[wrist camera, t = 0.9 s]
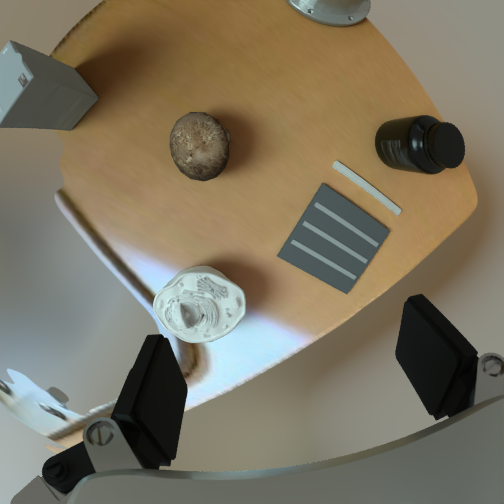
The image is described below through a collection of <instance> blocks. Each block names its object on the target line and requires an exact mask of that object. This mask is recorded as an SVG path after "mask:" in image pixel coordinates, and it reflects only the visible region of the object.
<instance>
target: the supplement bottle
mask: <svg viewBox="0 0 504 504" xmlns="http://www.w3.org/2000/svg"><path fill="white" fill-rule="evenodd" d="M375 147H376V151H377V154H378V156H379V157H380V159H381V160H382V162H383V163H384V164H386V165H387V166H388V167H390V168H393V169H398V170H404V171H411V172H417V173H423V174H437V173H440V172H441V171H443V170H444V169H445V168H455V167H458V165H460V164H461V162H462V160H463V159H464V155H465V145H464V140H463V137H462V134H461V133H460V131H459V130H458V128H457V127H455V125H453V124H451V123H448V122H440V121H439V120H437V119H436V118H434V117H432V116H428V115H421V116H414V117H407V118H401V119H396V120H391V121H387V122H385V123H384V124H382V125H381V126H380V127H379V129H378V131H377V133H376V137H375Z"/></svg>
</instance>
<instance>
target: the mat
mask: <svg viewBox="0 0 504 504" xmlns="http://www.w3.org/2000/svg"><path fill="white" fill-rule="evenodd" d="M389 232H390V231H389V230H388V229H387V228H385V227H384V226H383V225H381V224H380V223H379V222H377V221H376V220H375V219H373V218H372V217H371V216H369V215H368V214H366V213H365V212H364V211H362V210H361V209H359V208H358V207H357V206H355V205H354V204H352V203H351V202H350V201H348V200H347V199H345V198H344V197H342V196H341V195H339V194H338V193H336V192H335V191H333V190H332V189H330V188H329V187H327V186H326V185H324V184H323V183H322V184H321V186H320V188H319V189H318V191H317V192H316V194H315V196H314V197H313V199H312V201H311V202H310V204H309V205H308V207H307V209H306V210H305V212H304V214H303V215H302V217H301V218H300V220H299V222H298V223H297V225H296V226H295V228H294V230H293V231H292V233H291V234H290V236H289V238H288V239H287V241H286V242H285V244H284V245H283V247H282V249H281V250H280V252H279V253H278V255H277V256H278V257H279V258H281V259H283V260H285V261H287V262H288V263H290V264H292V265H294V266H296V267H298V268H300V269H301V270H303V271H305V272H307V273H309V274H311V275H312V276H314V277H316V278H318V279H320V280H322V281H323V282H325V283H327V284H329V285H331V286H333V287H334V288H336V289H338V290H340V291H342V292H344V293H345V294H348V292H349V291H350V290H351V288H352V287H353V285H354V284H355V283H356V281H357V280H358V278H359V277H360V275H361V274H362V273H363V271H364V270H365V268H366V267H367V265H368V264H369V262H370V261H371V259H372V258H373V256H374V255H375V253H376V252H377V250H378V249H379V247H380V246H381V244H382V243H383V241H384V240H385V238H386V236H387V235H388V233H389Z"/></svg>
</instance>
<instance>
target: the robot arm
mask: <svg viewBox="0 0 504 504" xmlns="http://www.w3.org/2000/svg"><path fill="white" fill-rule="evenodd" d="M287 2H288V3H289V4H290V5H291V6H292V7H293V8H294V9H295V10H296V11H298V12H299V13H300V14H302V15H303V16H305V17H307V18H309V19H311V20H313V21H316V22H318V23H322V24H325V25H330V26H351V25H354V24H357V23H358V22H360V21H362V20H363V19H364V18H365V17H366V15H367V14H368V12H369V10H370V0H287ZM310 13H311V14H310ZM477 354H478V352H477V351H476V349H475V348H474V347H473V346H472V345H471V344H470V343H469V342H468V341H467V339H466V338H465V337H464V336H463V335H462V334H461V333H460V332H459V331H458V330H457V329H456V328H455V327H454V326H453V324H451V322H450V321H449V320H448V319H447V318H446V317H445V316H444V315H443V314H442V313H441V312H440V311H439V310H438V309H437V308H436V307H435V306H434V305H433V304H432V303H431V302H430V301H429V300H428V299H427V298H426V297H425V296H424V295H422V294H419V295H415V296H410V297H409V298H408V299H407V301H406V302H405V303H404V308H403V314H402V320H401V326H400V331H399V336H398V341H397V346H396V351H395V355H396V359H397V361H398V362H399V364H400V365H401V367H402V369H403V370H404V372H405V374H406V375H407V377H408V379H409V380H410V382H411V384H412V385H413V387H414V389H415V390H416V392H417V394H418V395H419V397H420V399H421V401H422V403H423V404H424V406H425V408H426V410H427V411H428V413H429V414H430V415H433V416H434V418H435V420H439V419H441V418H443V417H445V416H447V415H448V417H449V418H448V419H446V420H444V421H442V422H439V423H437V424H435V425H433V426H431V427H428V428H426V429H423V430H421V431H419V432H416V433H414V434H411V435H409V436H406V437H403V438H401V439H398V440H395V441H392V442H389V443H386V444H384V445H380V446H377V447H374V448H371V449H367V450H364V451H360V452H357V453H353V454H349V455H345V456H341V457H337V458H332V459H328V460H323V461H318V462H313V463H307V464H301V465H296V466H288V467H281V468H271V469H262V470H248V471H224V472H198V471H173V470H159V467H160V466H170V465H171V460H174V459H175V458H176V453H177V447H178V441H179V435H180V429H181V424H182V418H183V413H184V408H185V402H186V397H187V391H188V389H187V384H186V382H185V379H184V377H183V374H182V372H181V370H180V367H179V365H178V362H177V360H176V357H175V355H174V352H173V350H172V347H171V345H170V342H169V340H168V338H164V336H163V335H162V334H158V335H147V337H146V339H145V341H144V343H143V346H142V348H141V350H140V352H139V354H138V357H137V359H136V361H135V364H134V366H133V368H132V369H131V370H130V372H129V374H128V376H127V379H126V381H125V383H124V386H123V388H122V391H121V393H120V395H119V398H118V400H117V403H116V405H115V407H114V410H113V412H112V415H111V418H106V417H102V418H97V419H94V420H93V421H91V422H89V423H88V425H87V426H86V427H85V429H84V431H83V441H82V442H80V443H78V444H76V445H74V446H73V447H71V448H69V449H67V450H65V451H63V452H61V453H59V454H57V455H55V456H52V457H51V458H49V459H48V460H47V461H46V462H45V463H44V466H43V468H42V475H43V476H42V477H40V476H37V477H36V478H34V479H33V480H32V481H31V482H30V483H29V484H28V485H27V486H26V487H24V488H23V489H22V490H21V491H20V492H19V493H18V494H16V495H15V496H14V497H13V499H12V500H11V504H504V358H503V357H502V356H501V355H499V354H496V353H486V354H484V355H482V356H481V357H480V358H478V357H477Z"/></svg>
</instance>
